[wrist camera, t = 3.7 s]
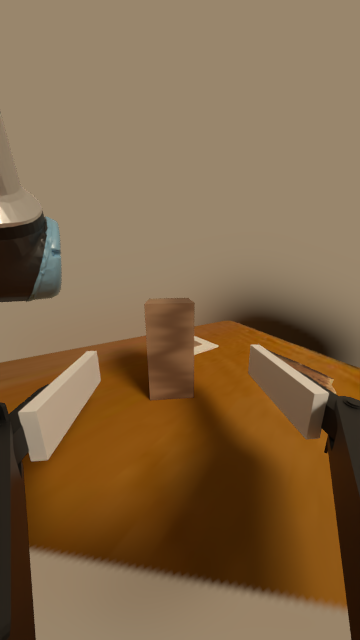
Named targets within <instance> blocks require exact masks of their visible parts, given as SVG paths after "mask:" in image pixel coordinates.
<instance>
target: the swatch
mask: <svg viewBox="0 0 360 640" xmlns="http://www.w3.org/2000/svg"><path fill="white" fill-rule="evenodd" d="M217 347H218V345H216V344H213V343H211V342H208V341H206V340H203V339H201V338H198V337H196V336H194V355H195V354H198V353H201V352H204V351H207V350H211V349H214V348H217Z"/></svg>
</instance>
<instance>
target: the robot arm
mask: <svg viewBox="0 0 360 640" xmlns="http://www.w3.org/2000/svg"><path fill="white" fill-rule="evenodd" d="M60 253H61V252H60V235H59V227H58V223H57V222H56V221H55V220H53V219H50V218H49V217H44V215H43V211H42V207H41V204H40V202H39V201H38V200H37V199H36V198H35V197H34V196H33V195H32V194H31V193H29V192H28V191H27V190H26V189H25V188H24V187H22V186H21V184H20V181H19V178H18V174H17V170H16V167H15V163H14V160H13V156H12V152H11V149H10V145H9V142H8V138H7V134H6V131H5V127H4V123H3V120H2V116H1V112H0V302H12V301H32V300H35V299H46V298H52V297H54V296H56V295H58V293H59V292H60V290H61V256H60ZM248 374H249V375H250V376H251V377H252V378H253V379H254V380H255V382H256V383H257V384H258V385H259V386H260V387H261V388H262V389H263V391H264V392H265V393H266V394H267V395H268V396H269V397H270V399H271V400H272V401H273V402H274V403H275V404H276V405H277V407H278V408H279V409H280V410H281V411H282V412H283V413H284V415H285V416H286V417H287V418H288V419H289V420H290V421H291V423H292V424H293V425H294V426H295V427H296V428H297V429H298V431H299V432H300V433H301V434H302V435H303V436H304V437H305V439H315V438H320V434H321V429H323V430H324V431H325V432H326V433H327V434H328V438H327V442H326V446H325V451H324V452H325V453H327V452H328V454H329V462H330V470H331V478H332V486H333V494H334V502H335V510H336V518H337V526H338V535H339V543H340V551H341V559H342V567H343V575H344V583H345V591H346V599H347V607H348V615H349V623H350V631H351V640H360V401H359V400H357V399H354V398H351V397H346V396H338V395H336V394H335V393H333V392H332V391H330V390H329V389H327V388H326V387H324V386H323V385H321V384H319V383H318V382H317V381H315V380H313V379H312V378H311V377H309V376H308V375H306V374H304V373H302V372H299V371H296V370H295V369H294V368H292V367H291V366H289V365H288V364H286V363H285V362H284V361H282V360H281V359H279V358H278V357H276V356H275V355H273V354H272V353H271V352H269V351H268V350H266V349H265V348H263V347H262V346H260V345H251V348H250V359H249V371H248ZM100 381H101V379H100V372H99V364H98V357H97V351H87V352H86V353H85V354H84V355H83V356H81V357H80V358H79V359H78V360H77V361H76V362H75V363H73V364H72V365H71V366H70V367H69V368H68V369H67V370H66V371H64V372H63V373H62V374H61V375H60V376H59V377H58V378H56V379H55V380H54V381H53V382H52V383H51V384H47V385H45V386H44V387H42V388H40V389H38V390H37V391H36V392H35V393H33V394H32V395H31V397H29V398H27V399H26V400H25V402H23V403H21V404H20V405H19V406H18V407H17V408H16V409H14V410H13V411H12V412H11V413H10V414H8V411H7V407H6V405H5V403H0V640H36V638H35V624H34V610H33V597H32V583H31V570H30V555H29V541H28V527H27V513H26V499H25V485H24V471H23V464H22V459H23V458H24V456H25V455H26V454H27V453H28V452H29V455H30V459H31V461H43V460H48V459H49V458H50V456H51V455H52V453H53V452H54V450H55V449H56V447H57V446H58V444H59V443H60V441H61V440H62V438H63V437H64V435H65V434H66V432H67V431H68V429H69V428H70V426H71V425H72V423H73V422H74V420H75V419H76V417H77V416H78V414H79V413H80V411H81V410H82V408H83V407H84V405H85V404H86V402H87V401H88V399H89V398H90V396H91V395H92V393H93V392H94V390H95V389H96V387H97V386H98V384H99V383H100Z"/></svg>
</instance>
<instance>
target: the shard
mask: <svg viewBox="0 0 360 640" xmlns="http://www.w3.org/2000/svg"><path fill="white" fill-rule="evenodd" d="M266 350H267V349H266ZM268 351H269V350H268ZM269 352H271V351H269ZM271 353H272V354H273V355H275V356H276V357H278V358H279V359H281V360H282V361H284V362H285V363H286V364H288V365H289V366H291V367H292V368H294V369H295V370H296V371H299V372H302V373H304V374H306V375H308V376H309V377H311V378H312V379H313V380H315V381H317V382H318V383H319V384H321V385H323V386H324V387H326V388H327V389H329V390H330V391H332V392H333V393H335V394H336V391H335V389H334V388H333V387H332V385H331V384H332V382H333V378H331V377H328V376H327V375H325V374H322V373H320V372H318V371H316V370H313V369H311V368H309V367H307V366H305V365H303V364H300V363H298V362H296V361H293V360H291V359H288V358H286V357H283V356H281V355H278V354H275V353H273V352H271Z"/></svg>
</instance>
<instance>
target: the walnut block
mask: <svg viewBox="0 0 360 640" xmlns="http://www.w3.org/2000/svg"><path fill="white" fill-rule="evenodd" d="M145 323H146V339H147V356H148V373H149V390H150V400H162V399H178V398H194V302H192V301H191V300H190V299H189V298H166V299H165V298H164V299H149V300H148V301H147V302H146V303H145Z"/></svg>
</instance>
